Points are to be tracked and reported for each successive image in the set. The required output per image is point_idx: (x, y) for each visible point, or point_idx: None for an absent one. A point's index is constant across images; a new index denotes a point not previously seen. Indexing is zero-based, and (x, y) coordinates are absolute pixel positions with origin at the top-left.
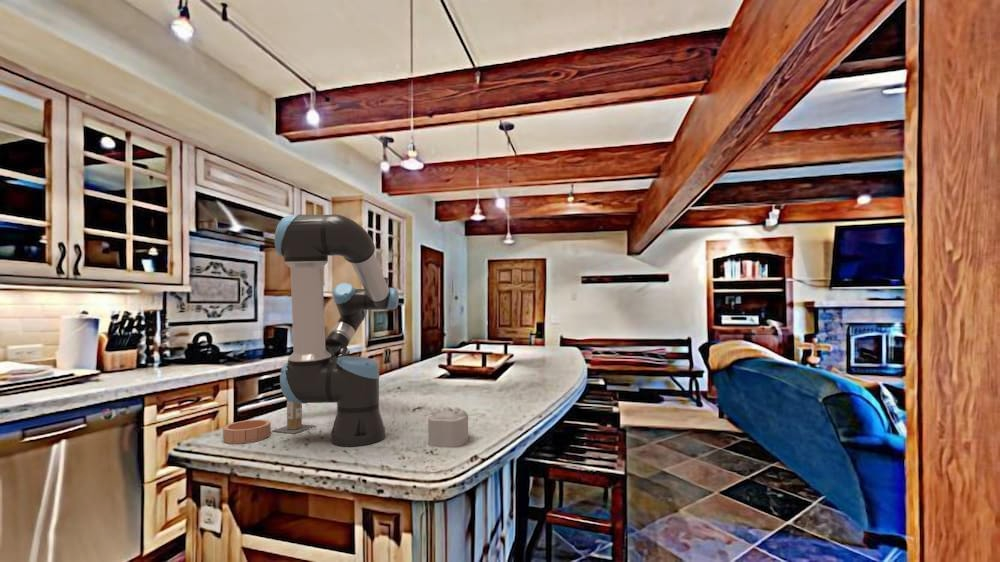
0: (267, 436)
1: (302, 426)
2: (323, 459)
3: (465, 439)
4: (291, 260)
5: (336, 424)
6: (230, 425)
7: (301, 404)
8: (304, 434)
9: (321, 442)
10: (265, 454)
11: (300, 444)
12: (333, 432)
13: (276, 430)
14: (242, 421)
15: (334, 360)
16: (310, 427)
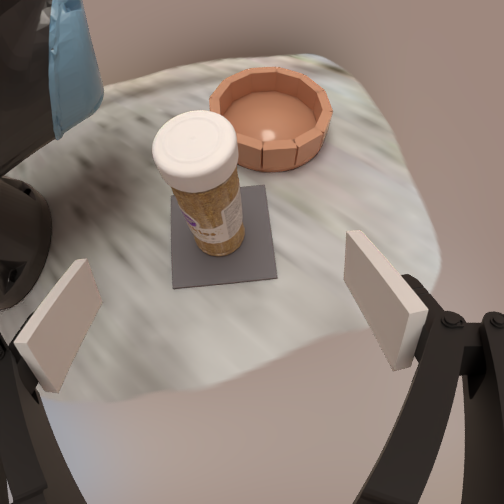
0: None
1: (211, 260)
2: None
3: None
4: None
5: (5, 176)
6: (314, 91)
7: (181, 210)
8: (143, 210)
9: (61, 187)
10: (124, 94)
11: (96, 155)
12: (30, 196)
13: (252, 191)
14: (323, 117)
15: (13, 439)
16: (174, 263)
